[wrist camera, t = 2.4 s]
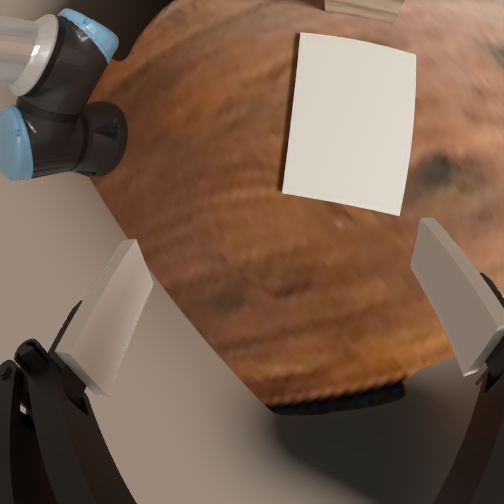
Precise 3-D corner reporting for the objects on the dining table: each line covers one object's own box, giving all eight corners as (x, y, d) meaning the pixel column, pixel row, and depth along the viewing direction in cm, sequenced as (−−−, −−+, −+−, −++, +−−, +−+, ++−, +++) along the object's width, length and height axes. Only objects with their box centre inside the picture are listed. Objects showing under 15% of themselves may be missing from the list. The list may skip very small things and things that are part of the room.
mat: (301, 35, 33) (300, 32, 32) (414, 56, 30) (415, 54, 29) (283, 192, 42) (282, 193, 41) (397, 214, 39) (399, 215, 38)
